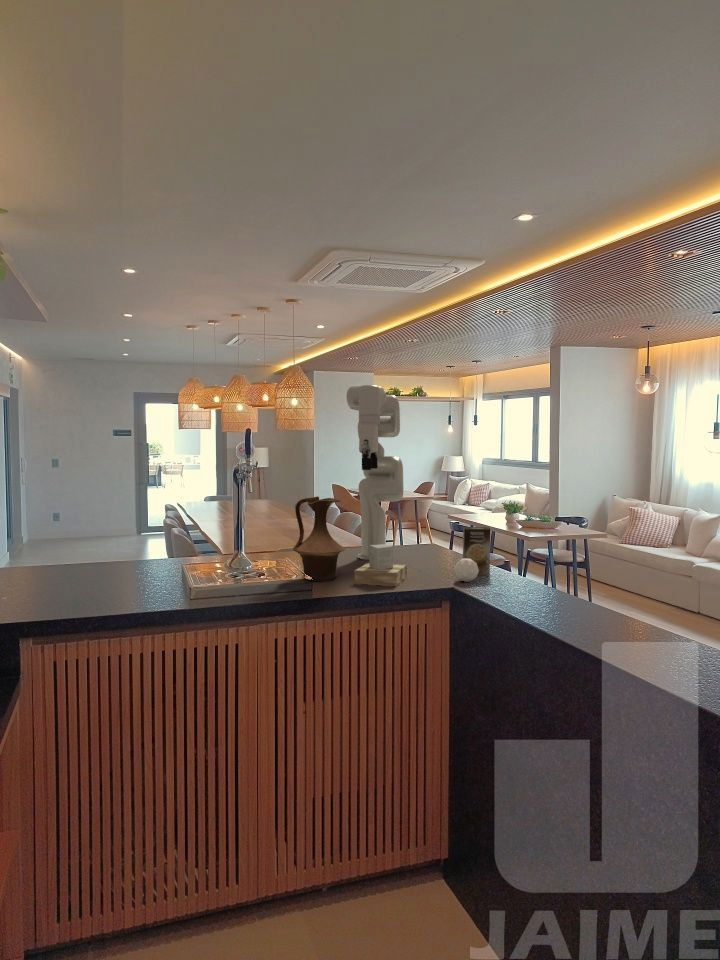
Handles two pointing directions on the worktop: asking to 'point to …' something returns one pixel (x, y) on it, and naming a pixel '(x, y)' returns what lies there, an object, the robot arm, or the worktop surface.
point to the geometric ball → (466, 570)
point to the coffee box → (477, 547)
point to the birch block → (381, 575)
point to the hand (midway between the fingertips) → (369, 469)
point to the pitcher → (318, 542)
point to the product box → (380, 556)
